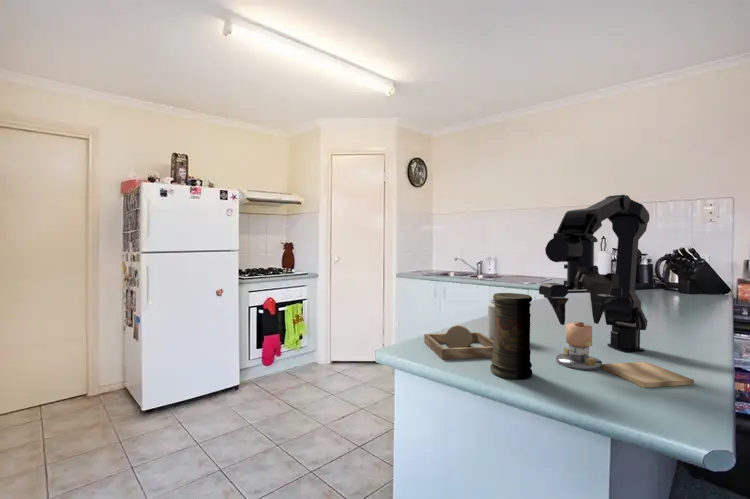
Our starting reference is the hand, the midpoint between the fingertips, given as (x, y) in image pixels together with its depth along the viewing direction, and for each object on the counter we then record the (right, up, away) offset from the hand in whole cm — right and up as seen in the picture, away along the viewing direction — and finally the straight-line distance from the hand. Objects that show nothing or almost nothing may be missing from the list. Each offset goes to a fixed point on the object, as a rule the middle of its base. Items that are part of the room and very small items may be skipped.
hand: (579, 324), depth 94 cm
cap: (0, -5, 0) cm, 5 cm away
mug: (-27, -10, +13) cm, 31 cm away
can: (-12, -9, +24) cm, 28 cm away
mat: (+10, -10, -8) cm, 17 cm away
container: (-19, -10, -7) cm, 23 cm away
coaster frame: (-26, -9, +12) cm, 31 cm away
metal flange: (0, -10, 0) cm, 10 cm away
